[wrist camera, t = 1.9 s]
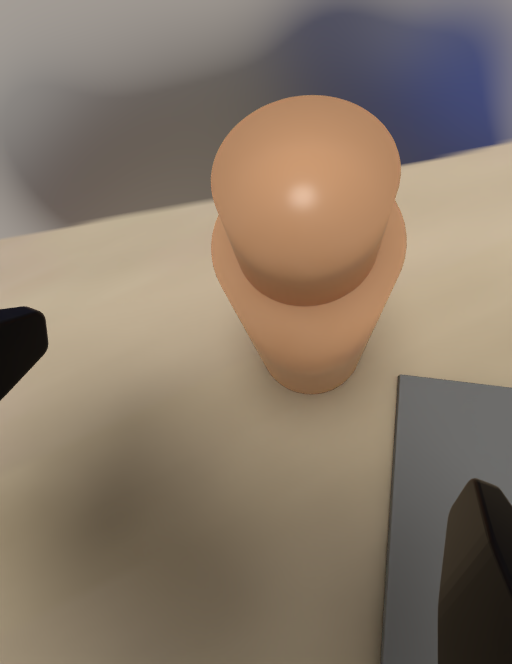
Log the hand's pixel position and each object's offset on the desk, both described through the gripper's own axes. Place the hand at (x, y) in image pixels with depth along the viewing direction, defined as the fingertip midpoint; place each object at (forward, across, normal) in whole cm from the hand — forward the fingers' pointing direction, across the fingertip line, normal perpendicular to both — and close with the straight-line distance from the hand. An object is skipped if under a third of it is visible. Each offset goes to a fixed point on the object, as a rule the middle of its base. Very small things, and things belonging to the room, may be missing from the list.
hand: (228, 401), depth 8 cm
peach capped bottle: (+11, 0, +5) cm, 12 cm away
